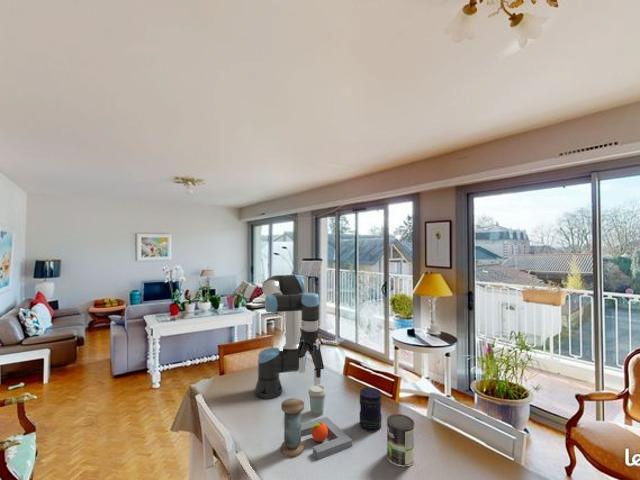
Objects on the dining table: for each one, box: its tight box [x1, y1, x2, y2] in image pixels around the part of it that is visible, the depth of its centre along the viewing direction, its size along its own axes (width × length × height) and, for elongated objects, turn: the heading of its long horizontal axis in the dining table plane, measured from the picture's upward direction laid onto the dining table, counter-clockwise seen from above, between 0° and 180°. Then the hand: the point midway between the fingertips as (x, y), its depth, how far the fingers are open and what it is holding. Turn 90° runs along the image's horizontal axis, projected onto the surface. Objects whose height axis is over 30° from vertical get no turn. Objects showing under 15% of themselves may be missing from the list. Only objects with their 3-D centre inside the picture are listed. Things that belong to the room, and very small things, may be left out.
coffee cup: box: [308, 384, 327, 417], centre depth 152 cm, size 8×8×12 cm
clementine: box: [310, 422, 329, 442], centre depth 130 cm, size 8×7×7 cm
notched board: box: [301, 416, 353, 460], centre depth 131 cm, size 20×16×2 cm
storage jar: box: [359, 386, 383, 433], centre depth 142 cm, size 10×10×15 cm
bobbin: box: [280, 397, 305, 458], centre depth 124 cm, size 9×9×18 cm
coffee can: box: [386, 413, 415, 468], centre depth 120 cm, size 10×10×14 cm
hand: (309, 378), depth 135 cm, fingers open, 13 cm apart
